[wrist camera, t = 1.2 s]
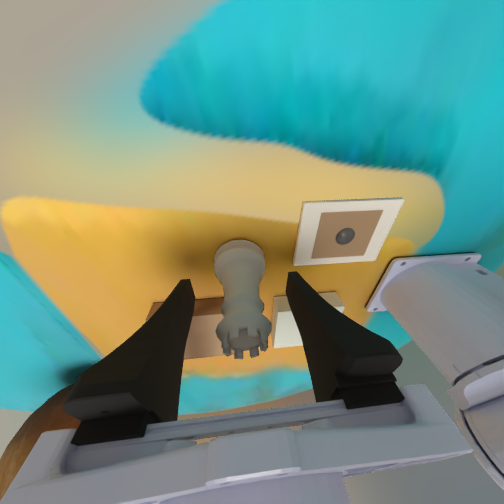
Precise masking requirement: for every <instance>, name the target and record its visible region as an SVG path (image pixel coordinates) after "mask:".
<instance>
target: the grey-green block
mask: <svg viewBox="0 0 504 504" xmlns="http://www.w3.org/2000/svg"><path fill="white" fill-rule="evenodd" d="M318 294H319V295H320V296H321V297H322V298H323V299H325V300H326V301H327V302H328V303H329V304H331V305H332V306H333V307H334V308H336V309H337V310H338V311H340V312H341V313H343V310H344V308H345V305H344V304H343V302H342V301H341V299H340V297H339V296H338V294H337V293H336V292H328V293H318ZM271 324H272V331H271V338H272V343H273V348H281V347H291V346H301V345H303V343H302V339H301V336H300V333H299V330H298V327H297V325H296V322H295V319H294V317H293V314H292V311H291V309H290V306H289V303H288V299H287V296H277V297H274V303H273V313H272V323H271Z"/></svg>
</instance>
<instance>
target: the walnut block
mask: <svg viewBox="0 0 504 504" xmlns="http://www.w3.org/2000/svg"><path fill="white" fill-rule="evenodd" d="M163 303H164V302H161V303H153V305H152V307H151V309H150V312H149V314H148V316H147V319H146V322H147V321H148V320H149V319H150V317H151V316H152V315H153V314H154V313H155V312H156V311H157V310H158V308H159V307H160V306H161V305H162V304H163ZM223 303H224V298H212V299H199V300H195V306H194V313H193V317H192V321H191V325H190V330H189V334H188V338H187V342H186V347H185V353H184V359H194V358H204V357H214V356H223V355H225V354H224V353H223V348H221V345H222V342H221V341H220V340H219V339H218V338H217V335H216V332H215V330H216V328H217V325H218V324H219V323H220V322H221V320H222V319H223V318H224V316H223V315H222V313H221V307H222V304H223ZM233 354H234V350H232V349H231V355H233Z"/></svg>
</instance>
